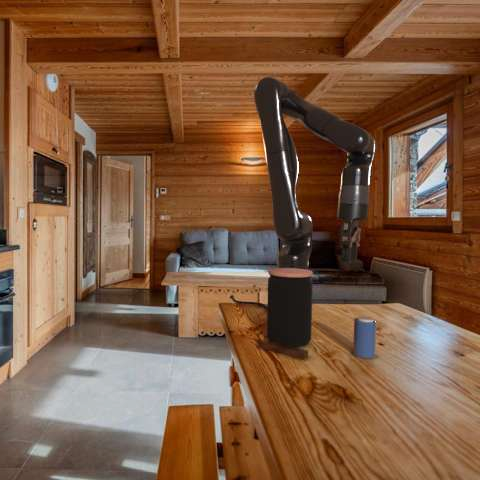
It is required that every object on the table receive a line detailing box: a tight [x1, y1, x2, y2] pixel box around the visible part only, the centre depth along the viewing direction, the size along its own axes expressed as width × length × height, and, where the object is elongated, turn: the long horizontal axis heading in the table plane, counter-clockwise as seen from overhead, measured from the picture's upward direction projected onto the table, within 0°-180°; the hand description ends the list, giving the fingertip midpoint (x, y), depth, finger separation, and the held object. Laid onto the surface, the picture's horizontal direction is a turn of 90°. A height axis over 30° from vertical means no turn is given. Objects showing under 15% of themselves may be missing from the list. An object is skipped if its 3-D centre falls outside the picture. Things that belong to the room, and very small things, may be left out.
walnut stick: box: [258, 339, 309, 360], centre depth 90 cm, size 11×2×2 cm, turn 46°
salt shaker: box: [352, 315, 377, 359], centre depth 88 cm, size 4×4×8 cm
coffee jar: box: [266, 267, 314, 348], centre depth 97 cm, size 11×11×18 cm
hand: (348, 261), depth 107 cm, fingers open, 8 cm apart
